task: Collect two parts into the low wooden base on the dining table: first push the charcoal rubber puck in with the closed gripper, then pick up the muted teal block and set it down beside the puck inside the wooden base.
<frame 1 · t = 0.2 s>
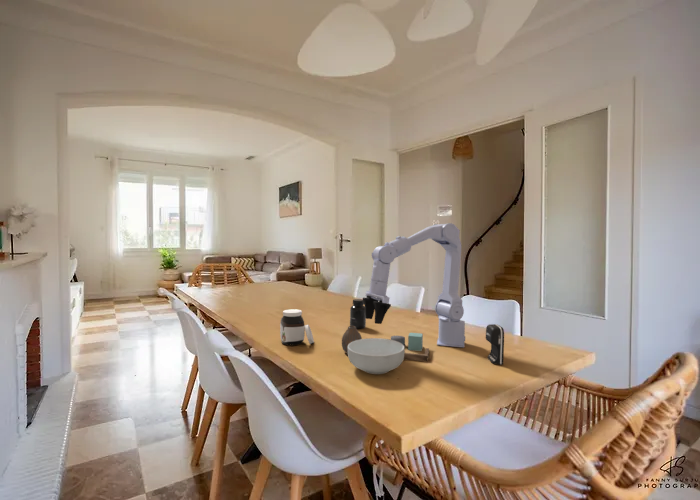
hand: (373, 321, 121), 10 cm above the table, tool pointing down, fingers open, 7 cm apart
cereal bowl: (375, 370, 105), on the table
spread jar: (297, 343, 132), on the table
supplement bottle: (357, 328, 156), on the table
puck: (397, 345, 130), on the table
block: (415, 348, 126), on the table
wooden base: (401, 354, 119), on the table
vase: (351, 353, 121), on the table
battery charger: (493, 362, 113), on the table
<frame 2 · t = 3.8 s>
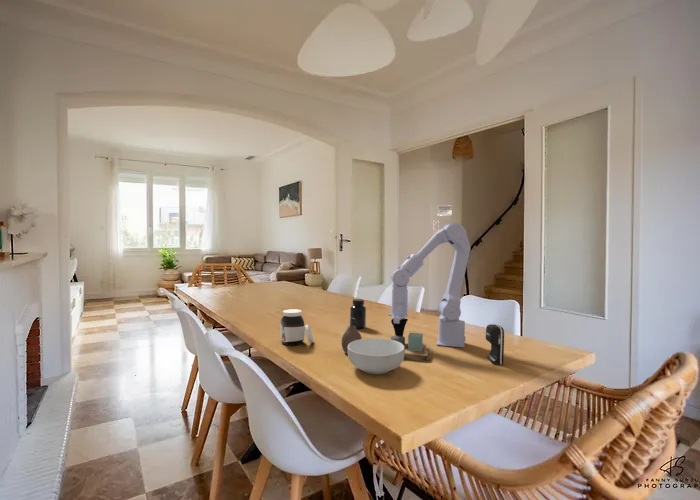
hand: (399, 338, 133), 1 cm above the table, tool pointing down, fingers closed
puck: (397, 345, 130), on the table, touching gripper
everything else where it was.
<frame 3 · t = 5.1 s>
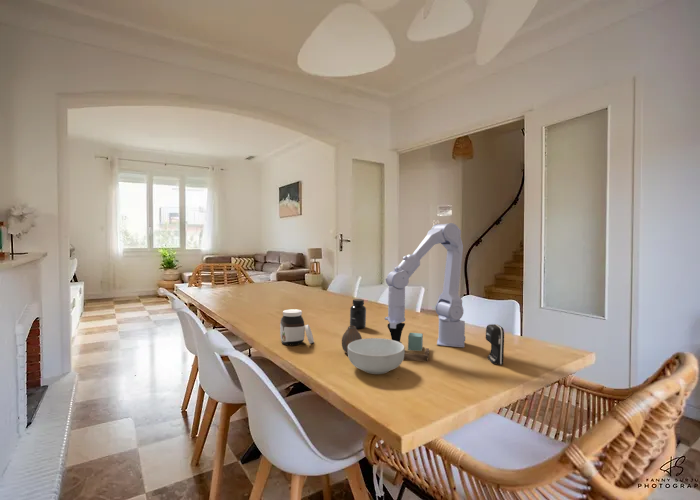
hand: (396, 344, 126), 1 cm above the table, tool pointing down, fingers closed
puck: (394, 351, 123), on the table, touching gripper
everything else where it was.
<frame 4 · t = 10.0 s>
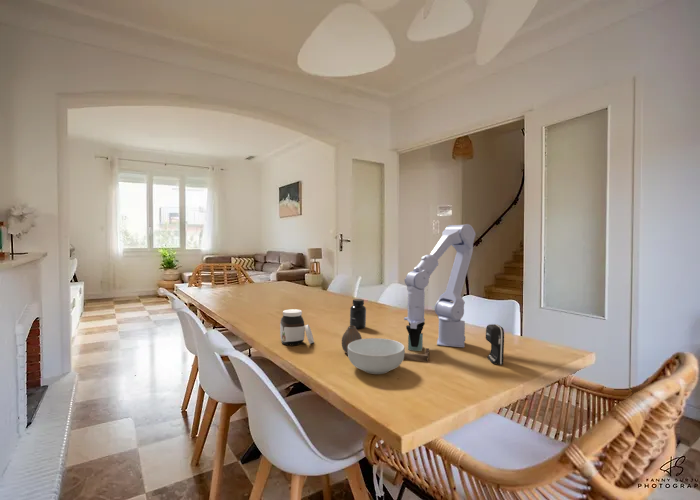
hand: (415, 344, 126), 1 cm above the table, tool pointing down, fingers closed on block, 4 cm apart
puck: (392, 354, 120), on the table
block: (415, 348, 126), on the table, touching gripper
everything else where it was.
when the fingers open (3 cm above the table, at t = 12.8 s): block drops 1 cm, on the table.
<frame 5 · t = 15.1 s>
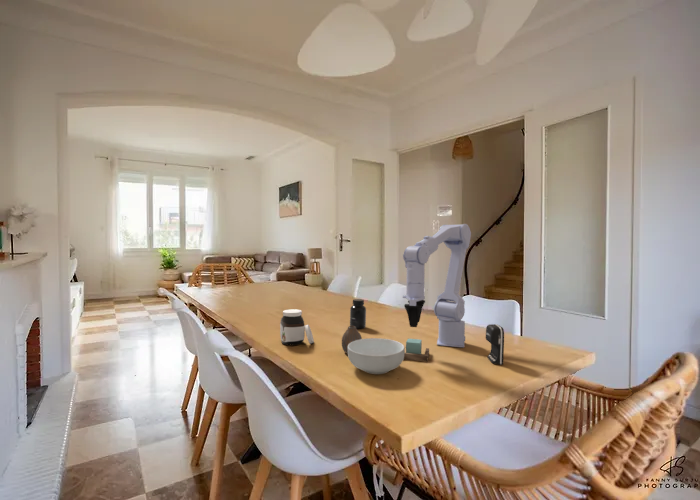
hand: (414, 324, 118), 10 cm above the table, tool pointing down, fingers open, 7 cm apart
block: (413, 355, 118), on the table
everything else where it was.
at the end: puck inside the target area (0.6 cm from its centre), on the table; block inside the target area (0.3 cm from its centre), on the table; block tilted 0° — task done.
